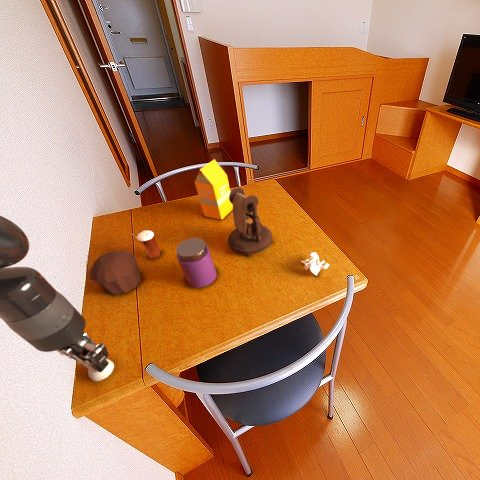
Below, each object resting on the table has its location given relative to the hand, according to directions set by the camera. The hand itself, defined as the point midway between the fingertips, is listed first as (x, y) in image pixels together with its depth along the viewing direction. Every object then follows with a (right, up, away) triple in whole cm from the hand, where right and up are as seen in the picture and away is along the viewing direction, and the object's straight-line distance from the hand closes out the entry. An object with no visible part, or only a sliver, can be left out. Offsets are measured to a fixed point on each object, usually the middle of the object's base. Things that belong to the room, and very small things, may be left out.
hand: (96, 364), depth 59 cm
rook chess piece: (0, -3, +2) cm, 3 cm away
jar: (+12, +16, +24) cm, 31 cm away
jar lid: (+13, +24, +16) cm, 32 cm away
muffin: (-9, +14, +21) cm, 27 cm away
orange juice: (+8, +38, +49) cm, 63 cm away
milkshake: (-6, +22, +30) cm, 38 cm away
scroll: (+24, +26, +36) cm, 50 cm away
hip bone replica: (+46, +18, +28) cm, 57 cm away
